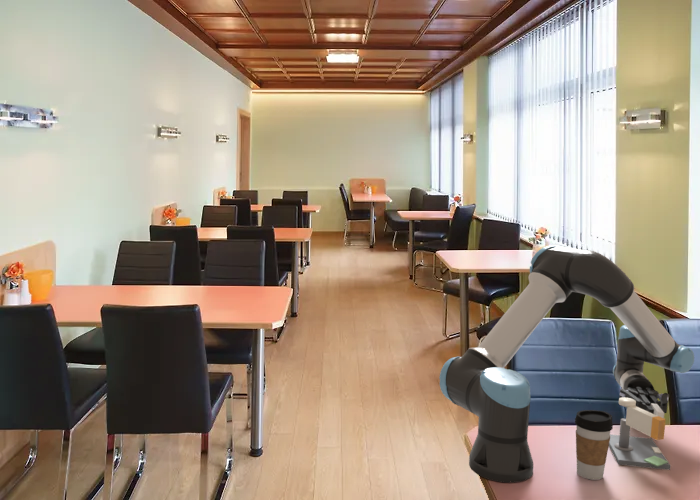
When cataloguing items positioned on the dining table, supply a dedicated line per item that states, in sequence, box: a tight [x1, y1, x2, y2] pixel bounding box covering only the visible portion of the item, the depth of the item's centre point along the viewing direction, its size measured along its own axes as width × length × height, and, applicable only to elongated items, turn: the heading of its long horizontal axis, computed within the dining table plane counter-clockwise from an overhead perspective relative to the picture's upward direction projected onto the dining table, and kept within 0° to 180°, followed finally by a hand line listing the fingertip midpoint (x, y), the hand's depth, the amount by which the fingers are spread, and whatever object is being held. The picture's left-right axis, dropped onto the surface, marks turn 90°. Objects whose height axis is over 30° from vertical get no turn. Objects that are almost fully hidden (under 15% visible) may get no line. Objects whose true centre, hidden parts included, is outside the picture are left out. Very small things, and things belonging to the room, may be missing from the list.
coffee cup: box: [574, 409, 614, 481], centre depth 147 cm, size 8×8×15 cm
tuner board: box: [608, 433, 671, 471], centre depth 159 cm, size 12×18×2 cm
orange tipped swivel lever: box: [618, 397, 666, 448], centre depth 155 cm, size 13×4×12 cm, turn 21°
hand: (660, 417), depth 155 cm, fingers closed
